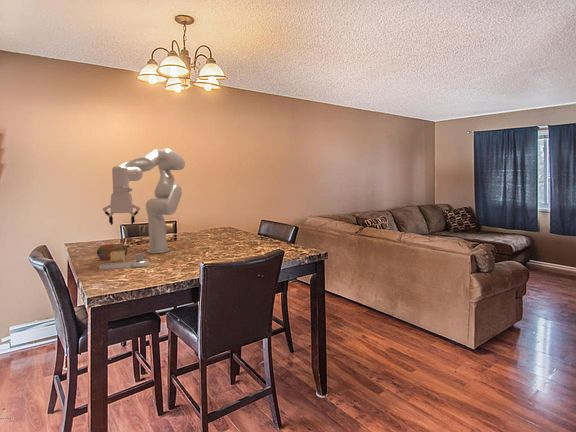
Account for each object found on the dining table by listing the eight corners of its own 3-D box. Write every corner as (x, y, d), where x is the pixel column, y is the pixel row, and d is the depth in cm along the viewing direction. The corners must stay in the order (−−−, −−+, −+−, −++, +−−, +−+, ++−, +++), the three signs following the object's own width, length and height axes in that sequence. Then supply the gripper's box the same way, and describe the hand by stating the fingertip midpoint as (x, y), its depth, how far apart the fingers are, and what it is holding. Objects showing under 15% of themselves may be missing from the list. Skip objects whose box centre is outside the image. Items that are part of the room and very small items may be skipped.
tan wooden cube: (112, 262, 189) (111, 251, 188) (125, 261, 191) (124, 250, 190) (110, 265, 183) (110, 253, 183) (123, 264, 185) (123, 253, 184)
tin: (97, 260, 194) (96, 245, 193) (99, 259, 197) (98, 243, 196) (127, 259, 197) (126, 243, 196) (128, 257, 200) (127, 242, 199)
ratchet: (102, 266, 182) (101, 254, 181) (149, 262, 189) (149, 251, 188) (98, 271, 173) (97, 258, 172) (148, 267, 180) (148, 255, 179)
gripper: (139, 190, 190) (140, 223, 191) (103, 190, 184) (104, 224, 185) (139, 190, 183) (140, 224, 184) (100, 190, 177) (102, 225, 178)
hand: (122, 224), depth 185 cm, fingers open, 9 cm apart
